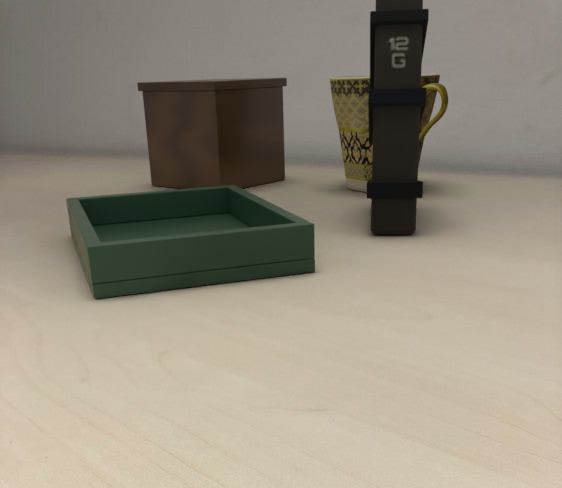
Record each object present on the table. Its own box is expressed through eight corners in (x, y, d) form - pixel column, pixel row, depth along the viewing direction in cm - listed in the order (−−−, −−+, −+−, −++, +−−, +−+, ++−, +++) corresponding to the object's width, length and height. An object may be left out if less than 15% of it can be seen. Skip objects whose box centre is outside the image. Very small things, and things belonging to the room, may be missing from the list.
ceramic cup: (309, 186, 70) (308, 77, 66) (386, 176, 75) (389, 74, 71) (398, 204, 60) (403, 76, 56) (479, 190, 65) (489, 72, 61)
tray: (71, 236, 52) (65, 198, 50) (236, 220, 55) (234, 184, 54) (94, 299, 37) (87, 246, 36) (315, 271, 41) (314, 223, 40)
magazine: (365, 220, 46) (370, -7, 46) (366, 260, 59) (370, 83, 59) (424, 220, 45) (429, -10, 46) (412, 260, 58) (415, 81, 59)
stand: (147, 185, 74) (136, 82, 70) (217, 173, 81) (211, 79, 77) (221, 193, 67) (214, 81, 63) (289, 179, 75) (286, 77, 71)
